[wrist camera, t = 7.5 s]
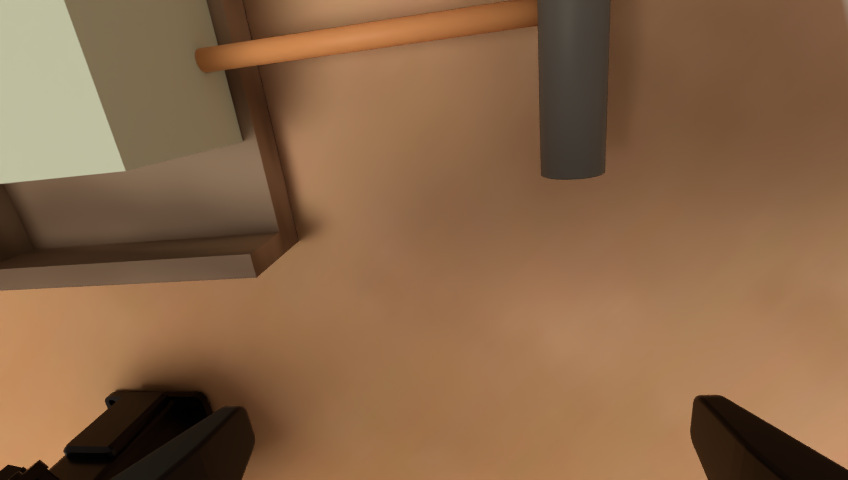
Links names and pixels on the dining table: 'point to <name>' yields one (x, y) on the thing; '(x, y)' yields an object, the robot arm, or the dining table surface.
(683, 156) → the dining table surface
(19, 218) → the brown wooden tray
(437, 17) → the corded block
